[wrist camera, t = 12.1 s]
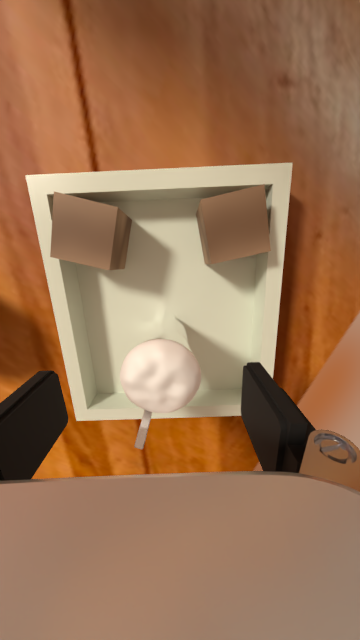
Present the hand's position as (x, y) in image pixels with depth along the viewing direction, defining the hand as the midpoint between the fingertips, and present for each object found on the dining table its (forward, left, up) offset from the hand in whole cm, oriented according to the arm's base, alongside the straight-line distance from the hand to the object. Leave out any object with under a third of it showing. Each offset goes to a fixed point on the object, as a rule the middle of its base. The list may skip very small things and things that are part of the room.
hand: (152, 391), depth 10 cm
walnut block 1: (-8, -5, -9) cm, 13 cm away
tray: (-2, 0, -10) cm, 10 cm away
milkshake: (0, 0, -10) cm, 10 cm away
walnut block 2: (-8, +5, -9) cm, 14 cm away
